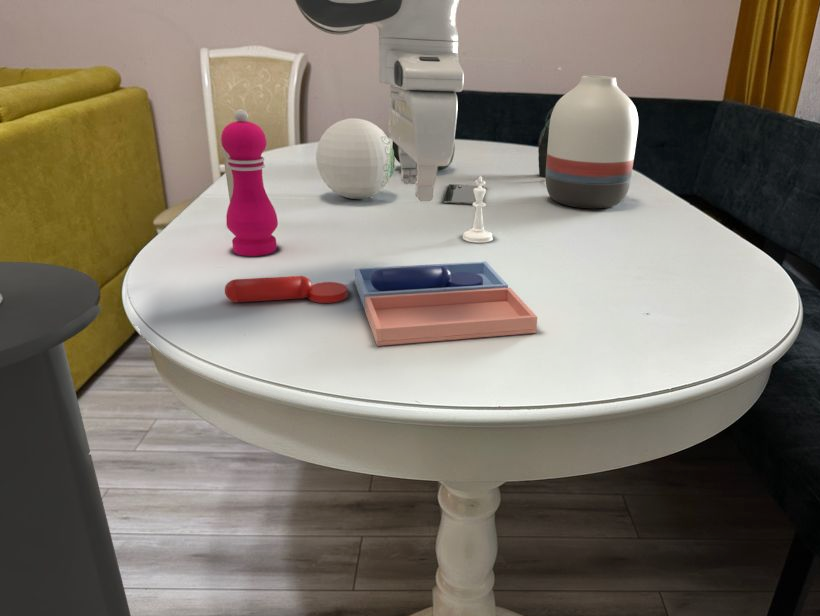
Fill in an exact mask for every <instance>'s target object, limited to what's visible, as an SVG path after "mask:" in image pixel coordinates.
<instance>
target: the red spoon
mask: <svg viewBox="0 0 820 616" xmlns="http://www.w3.org/2000/svg"><path fill="white" fill-rule="evenodd" d="M348 289H349V288H348V286H347V285H346V284H344V283H341V282H335V281H324V282H317V283H313V282H312V280H310V279H309V278H308V277H307V276H304V275H291V276H288V275H287V276H273V277H254V278H253V277H251V278H236V279H235V278H234V279H232V280H230V281H228V282H226V284H225V286H224V295H225V297H226V298H227V300H229V301H230V302H233V303H253V302H266V301H268V302H269V301H285V300H299V299H301V300H302V299H305V298H307V299H308V300H309V301H311V302H314V303H318V304H333V303H334V304H335V303H339V302H342V301H345V300H346V299H347V298H348V296H349V290H348Z"/></svg>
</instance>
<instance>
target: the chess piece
mask: <svg viewBox="0 0 820 616" xmlns="http://www.w3.org/2000/svg"><path fill="white" fill-rule="evenodd" d="M477 178H478V179H475V180H474V184H476V185H477V186H478V187H477V188H474V189H473V191H474V194H475V198H476V202H474V203H473V204H471V205H472V206H473V207H475V213H474V219H473V225H472V226H471V228H470V229H469V230H466V231H464V232H463V234H462V239H463V241H466V242H470V243H475V244H476V243H477V244H481V243H482V244H484V243H489V242H492V241H493V240H494V239H493V233H492V232H490V231H487V230H486V228H485V227H484V219H483V208H484V207H486V206H487V204H486V203H485V202H484V201H483V200H484V199H485V196H486V195H485V194H486V193H487V189H486V188H485V187H484V188H482V186H483V185H486V181H485V180H483V176H478V177H477Z"/></svg>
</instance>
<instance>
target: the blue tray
mask: <svg viewBox="0 0 820 616" xmlns="http://www.w3.org/2000/svg"><path fill="white" fill-rule="evenodd" d="M426 266H444V267H446V268H447V269H448V270H449V271H450V273H456V272H469V273H474V274H477V275H480V276H481V277H482V278H483V285H480V286H463V287H446V286H445V287H439V288H423V289H407V290H391V291H379V290H377V289H375V288H374V287H373V286H372V284H371V276H372V274H373V273H374V272H375V271H376V270H378V269H388V268H407V267H426ZM353 273H354V285H355V287H356V290H357V293H358V296H359V299H360V301H361V304H362V307H363V310H364V311H365V297H370V296H385V295H401V294H417V293H433V292H448V291H464V290H480V289H496V288H509V284H507V282H506V281H505V280H504V279H503V278H502V277H501V275H499V273H497V271H496V270H494V268H493V267H492V266H491V265H490V263H488V262H487V261H472V262H471V261H470V262H469V261H468V262H452V263H433V264H432V263H431V264H413V265H395V266H375V267H373V266H372V267H359V268H354V272H353Z"/></svg>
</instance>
